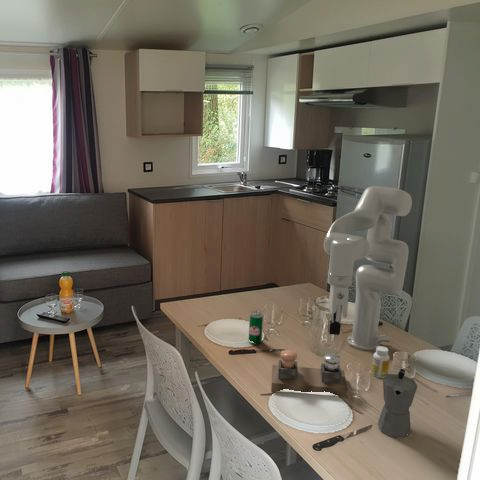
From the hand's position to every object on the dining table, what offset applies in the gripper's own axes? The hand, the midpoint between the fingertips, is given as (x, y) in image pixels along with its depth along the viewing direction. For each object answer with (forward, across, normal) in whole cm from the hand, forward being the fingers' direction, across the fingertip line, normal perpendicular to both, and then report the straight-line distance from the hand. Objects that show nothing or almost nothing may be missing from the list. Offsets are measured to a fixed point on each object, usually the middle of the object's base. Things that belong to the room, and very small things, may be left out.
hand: (334, 333), depth 170 cm
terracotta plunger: (+13, +1, +14) cm, 19 cm away
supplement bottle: (+19, +12, -18) cm, 29 cm away
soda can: (+19, +30, +26) cm, 44 cm away
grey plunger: (+13, +1, 0) cm, 13 cm away
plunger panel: (+19, +1, +7) cm, 20 cm away
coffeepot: (+19, -19, -17) cm, 32 cm away
